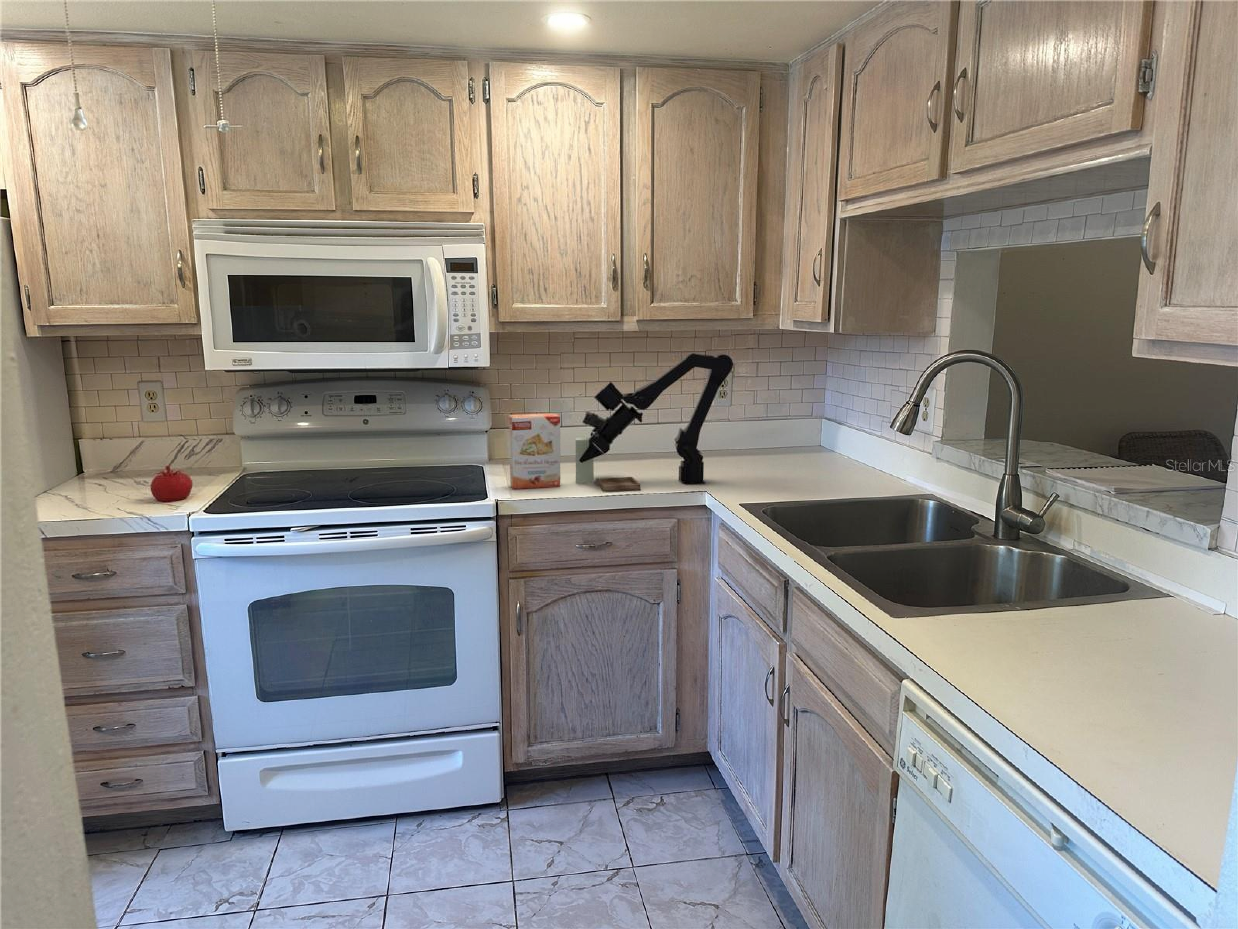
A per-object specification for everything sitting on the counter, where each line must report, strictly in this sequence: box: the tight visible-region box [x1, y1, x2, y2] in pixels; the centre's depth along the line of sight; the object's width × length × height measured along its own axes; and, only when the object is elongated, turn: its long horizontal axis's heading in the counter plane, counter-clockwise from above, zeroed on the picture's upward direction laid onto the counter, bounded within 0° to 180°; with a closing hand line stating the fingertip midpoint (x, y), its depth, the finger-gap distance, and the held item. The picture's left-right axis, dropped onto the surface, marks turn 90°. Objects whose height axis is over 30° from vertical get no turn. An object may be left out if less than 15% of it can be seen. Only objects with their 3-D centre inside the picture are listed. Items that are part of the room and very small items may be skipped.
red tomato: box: [150, 465, 194, 503], centre depth 222 cm, size 10×10×9 cm
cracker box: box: [508, 413, 561, 490], centre depth 237 cm, size 14×6×21 cm, turn 105°
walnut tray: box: [595, 476, 641, 493], centre depth 237 cm, size 11×11×2 cm
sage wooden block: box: [575, 437, 595, 484], centre depth 243 cm, size 5×5×13 cm
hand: (580, 458), depth 243 cm, fingers open, 9 cm apart
